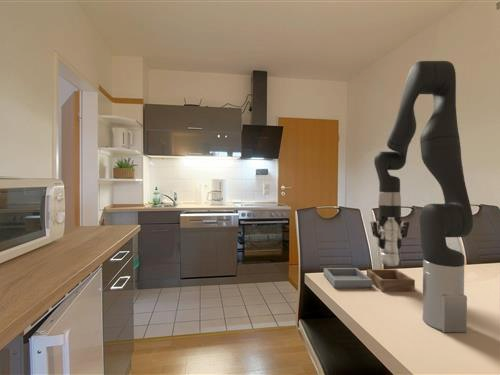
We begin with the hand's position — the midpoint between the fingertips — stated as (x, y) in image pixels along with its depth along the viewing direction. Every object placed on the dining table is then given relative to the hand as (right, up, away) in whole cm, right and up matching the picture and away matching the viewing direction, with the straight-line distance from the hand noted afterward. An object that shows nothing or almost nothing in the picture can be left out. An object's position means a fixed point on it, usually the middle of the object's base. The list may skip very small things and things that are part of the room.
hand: (389, 248), depth 102 cm
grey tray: (-15, -14, +4) cm, 21 cm away
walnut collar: (0, -14, 0) cm, 14 cm away
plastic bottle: (0, -7, 0) cm, 7 cm away
